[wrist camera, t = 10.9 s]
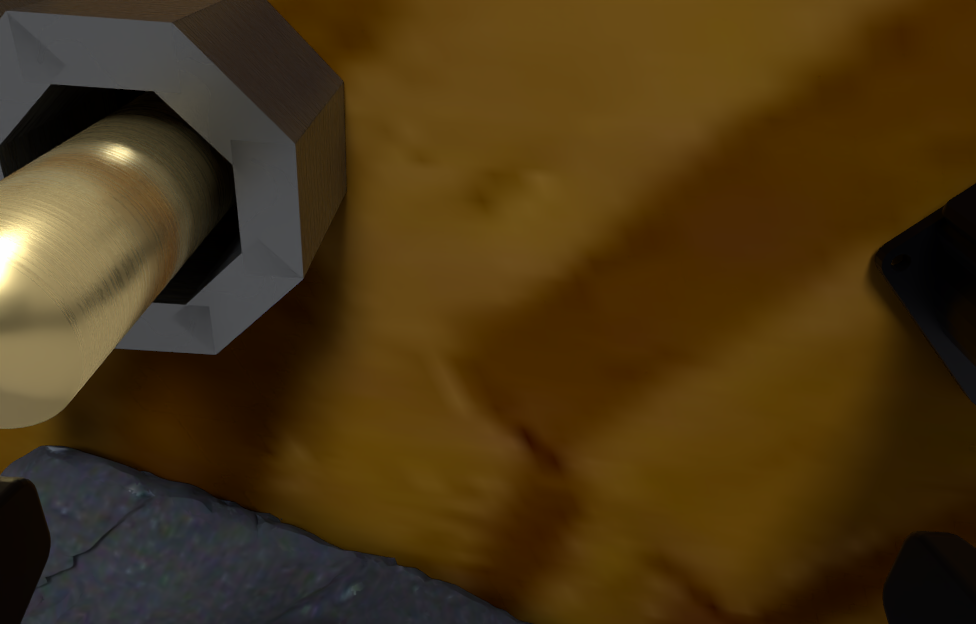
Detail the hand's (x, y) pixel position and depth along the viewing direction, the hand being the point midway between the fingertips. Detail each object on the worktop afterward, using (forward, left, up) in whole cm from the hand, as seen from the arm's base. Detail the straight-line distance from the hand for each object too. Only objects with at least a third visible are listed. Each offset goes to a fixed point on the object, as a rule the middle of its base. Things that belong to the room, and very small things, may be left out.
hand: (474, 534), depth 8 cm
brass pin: (+5, +5, -13) cm, 15 cm away
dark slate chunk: (-9, +19, -14) cm, 25 cm away
